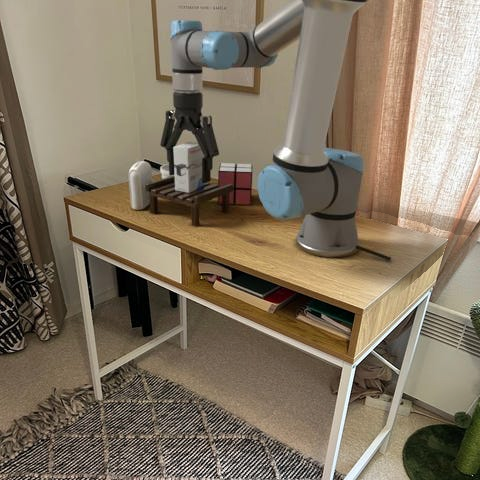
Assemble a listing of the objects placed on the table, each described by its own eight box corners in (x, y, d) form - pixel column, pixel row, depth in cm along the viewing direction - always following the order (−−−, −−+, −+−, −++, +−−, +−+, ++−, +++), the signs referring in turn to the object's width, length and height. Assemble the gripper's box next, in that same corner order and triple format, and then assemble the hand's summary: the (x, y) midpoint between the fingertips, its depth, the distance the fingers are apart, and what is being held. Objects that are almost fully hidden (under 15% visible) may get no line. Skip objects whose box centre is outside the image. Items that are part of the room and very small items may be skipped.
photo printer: (141, 199, 148) (138, 157, 142) (155, 200, 148) (152, 158, 141) (129, 209, 139) (125, 166, 133) (143, 211, 139) (140, 167, 132)
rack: (232, 212, 141) (233, 184, 136) (197, 227, 129) (197, 197, 125) (183, 199, 149) (183, 172, 145) (147, 212, 138) (145, 183, 134)
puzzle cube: (250, 205, 146) (252, 172, 141) (217, 204, 146) (218, 170, 141) (250, 195, 155) (252, 163, 150) (219, 194, 155) (220, 162, 150)
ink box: (190, 183, 140) (189, 140, 134) (204, 186, 138) (204, 143, 132) (174, 190, 133) (172, 146, 127) (189, 193, 131) (188, 148, 125)
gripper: (234, 94, 120) (231, 183, 131) (163, 86, 131) (167, 168, 142) (215, 97, 114) (215, 189, 126) (143, 88, 126) (149, 173, 137)
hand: (189, 178), depth 134 cm, fingers open, 11 cm apart
